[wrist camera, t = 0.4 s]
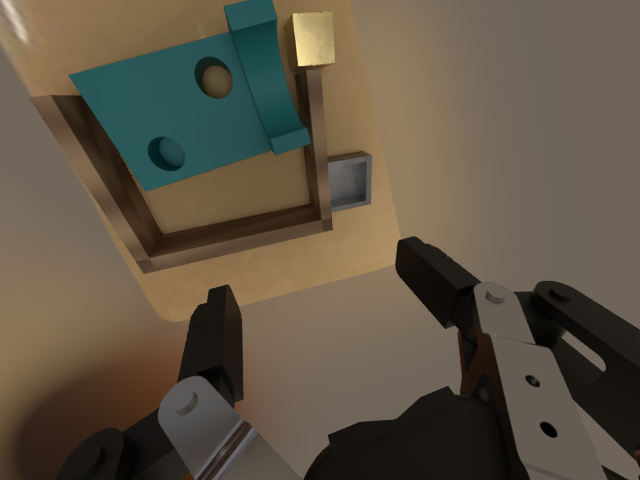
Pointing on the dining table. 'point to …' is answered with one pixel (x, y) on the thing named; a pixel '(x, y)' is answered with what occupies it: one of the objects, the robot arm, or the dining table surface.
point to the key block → (310, 40)
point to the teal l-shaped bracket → (198, 101)
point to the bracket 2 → (198, 243)
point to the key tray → (349, 180)
